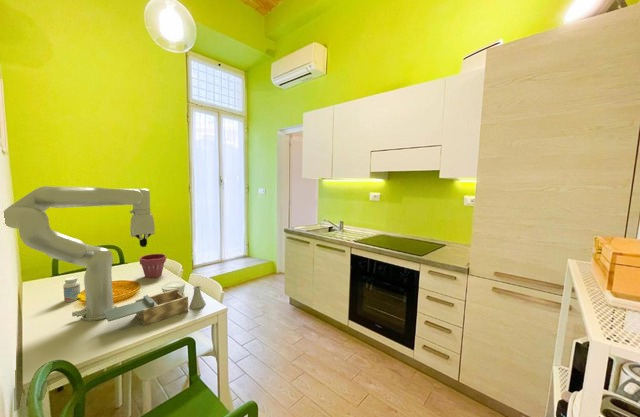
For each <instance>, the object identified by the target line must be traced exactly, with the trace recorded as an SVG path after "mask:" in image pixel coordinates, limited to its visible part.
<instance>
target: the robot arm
mask: <svg viewBox="0 0 640 417" xmlns="http://www.w3.org/2000/svg"><path fill="white" fill-rule="evenodd" d="M150 192H151V191H150V190H149V189H148V188H123V187H122V188H107V187H106V188H105V187H97V186H53V185H52V186H50V185H48V186H47V185H44V186H39V187H37V188H35V189H33V190H32V191H31V192H29V193H27V194H25V195H24V196H23V197H21V198H20V199H18V200H17V201H16V202H14V203H12V204H11V205H10V206H8V207H7V208H5V209H4V211H3V212H4V218H5V224H6V225H5V224H4V225H5V226H7V227H8V228H11V229H17V230H18V234H19V237H20V239H21V241H22V242H23V244H24V245H25V246H26V247H28V248H30V249H33V250H35V251H37V252H38V251H39V252H42V253H44V254H45V255H46V256H48V257H49V258H51V259H54V260H58V261H62V262H66V263H69V264H73V265H76V266H80V267H85V269H86V270H85V273H84V276H83V283H84V284H83V285H84V296H85V298H84V299H85V306H84V308H81V309H79V310H76V311H72V312H71V316H72V317H76V318H79V317H81V319H82V320H83V321H85V322H91V321H92V322H93V321H99V320H103V319H107V318H106V317H105V315H104V313H103V311H106V310H110V309H113V308H117V307H118V306H117V305H114V297H113V296H114V295H113V294H114V293H113V279H112V278H113V277H112V268H113V267H112V266H113V261H114V256H113V253H112V252H111V251H110V250H109V249H108V248H106V247H102V246H96V245H95V246H94V245H90V244H86V243H85V242H83V241H82V240H80V239H78V238H76V237H71V236H69V235H66V234H63V233H62V232H61V233H60V232H58V231H56V230H53V229H52V227H50V219H49V216H48V214H47V213H46V211H47V210H49V208H53V209H54V208H55V209H60V208H61V209H63V208H64V209H65V208H82V207H87V208H88V207H105V206H106V207H109V206H110V207H111V206H132V210H129V214H132V215H131V219H130V235H129V236H130V237H131V238H137V239H138V240H139V246H140V247H141V248H146V247H147V245H148V238H149V237H151V236H153V235H155V234H156V226H155V220H154V215H153V214H151V193H150Z"/></svg>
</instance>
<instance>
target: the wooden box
mask: <svg viewBox="0 0 640 417" xmlns="http://www.w3.org/2000/svg"><path fill="white" fill-rule="evenodd" d="M148 296H149V295H148ZM149 297H150V298H152V299H153V300H154V301H155V302H156V303H157V304H158V305H157V306H153V307H150V308H147V309H143V312H139V313H136V314H135V315H136V317H137V318H138V319H139V320H140V322H141V323H142V325H143V326H144V327H146V326H150V325H152V324H155V323H157V322H161V321H164V320H166V319H170V318H172V317H175V316H177V315H178V316H179V315H182V314H184V313H187V312H189V296H184V294H181V293H179V292H178V289H175V290H171V291H168V292H164V293H163V292H161V293H158V294H153V295H150V296H149ZM142 300H144V299H143V297H142V298H138V299H135V302H138V301H142Z"/></svg>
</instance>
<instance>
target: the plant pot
mask: <svg viewBox="0 0 640 417" xmlns="http://www.w3.org/2000/svg"><path fill="white" fill-rule="evenodd" d="M166 261H167V256H166V254H164V253H163V254H162V253H153V254H152V253H150V254H146V255H143V256H140V257H139V264H140V265H141V268H142V271H143V274H144V278H146V279H156V278H158V277H161V276H162V275H163V271H164V266H165V263H166Z"/></svg>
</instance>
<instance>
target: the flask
mask: <svg viewBox="0 0 640 417" xmlns="http://www.w3.org/2000/svg"><path fill="white" fill-rule="evenodd" d="M201 288H202V286H200V285H195V286H193V295H192V298H191V302H190V303H189V305H188V309H192V310H199V309H201V308H203V307H205V306H206V304H207V303H206V301H205V300H204V298H203V295H202V292H201Z"/></svg>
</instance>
